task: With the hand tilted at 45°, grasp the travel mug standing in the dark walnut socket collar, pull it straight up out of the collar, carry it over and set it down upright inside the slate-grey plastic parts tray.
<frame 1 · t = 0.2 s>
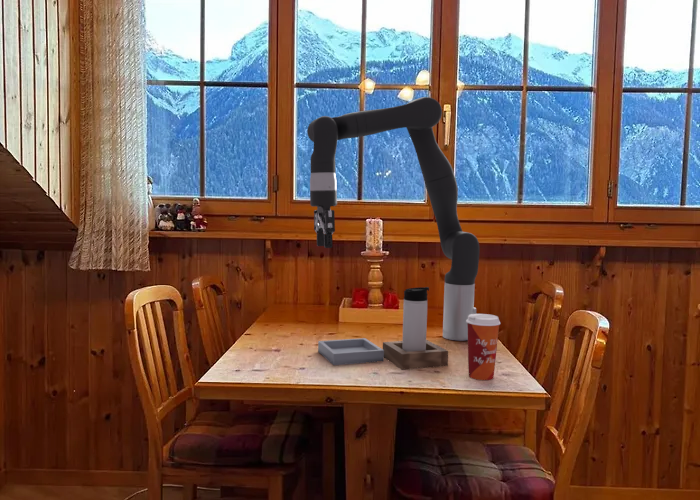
hand: (324, 246, 169), 29 cm above the table, tool pointing down, fingers open, 8 cm apart
parts tray: (350, 356, 163), on the table
socket collar: (414, 361, 159), on the table
coffee cup: (481, 377, 147), on the table
travel mug: (414, 361, 159), resting in socket collar
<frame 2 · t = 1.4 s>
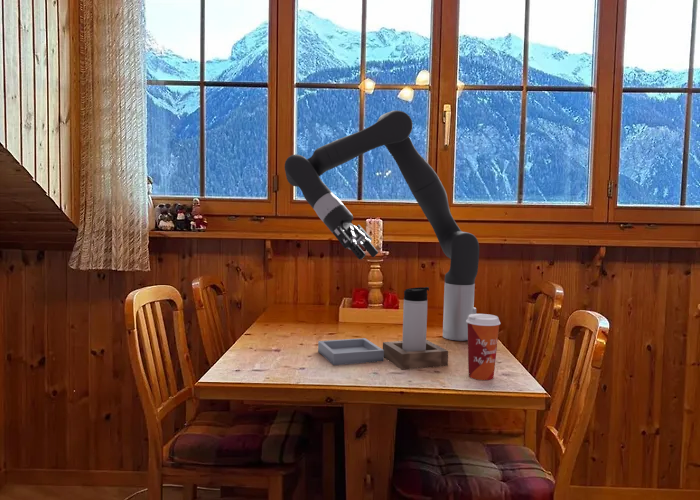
hand: (369, 256, 163), 27 cm above the table, tool tilted 45°, fingers open, 8 cm apart
nothing on the table moved.
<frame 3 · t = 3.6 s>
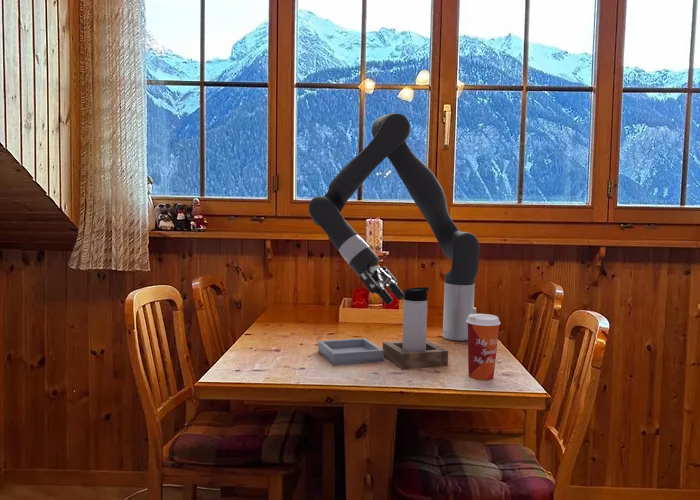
hand: (396, 300, 160), 16 cm above the table, tool tilted 45°, fingers open, 8 cm apart
nothing on the table moved.
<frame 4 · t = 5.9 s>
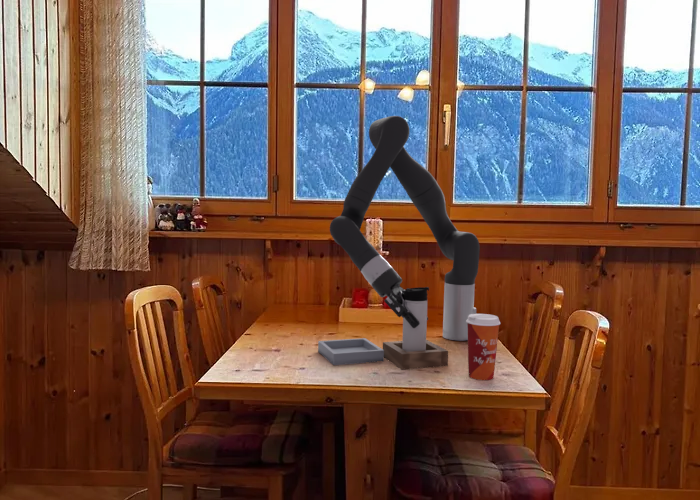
hand: (421, 323, 157), 10 cm above the table, tool tilted 45°, fingers closed on travel mug, 6 cm apart
travel mug: (414, 361, 159), resting in socket collar, touching gripper
everything else where it was.
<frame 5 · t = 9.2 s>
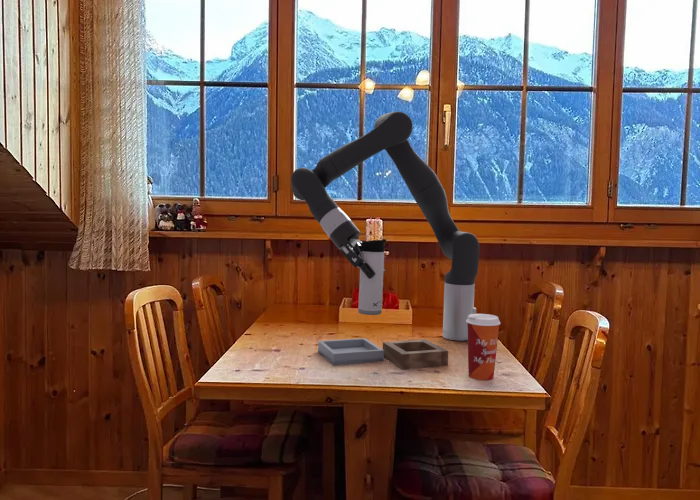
hand: (377, 275, 158), 23 cm above the table, tool tilted 45°, fingers closed on travel mug, 6 cm apart
travel mug: (370, 313, 160), point 12 cm above the table, touching gripper
everything else where it was.
when the fingers open (13 cm above the table, at t = 12.5 s): travel mug drops 1 cm, resting on parts tray.
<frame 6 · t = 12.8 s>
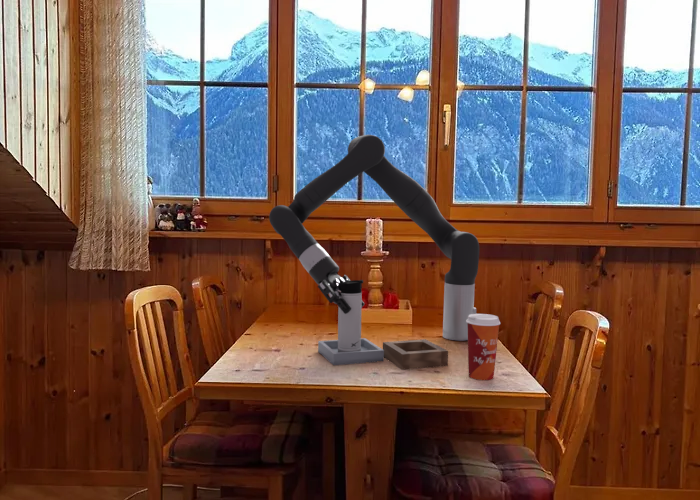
hand: (355, 309, 161), 13 cm above the table, tool tilted 45°, fingers open, 8 cm apart
travel mug: (349, 353, 163), point 1 cm above the table, touching parts tray
everything else where it was.
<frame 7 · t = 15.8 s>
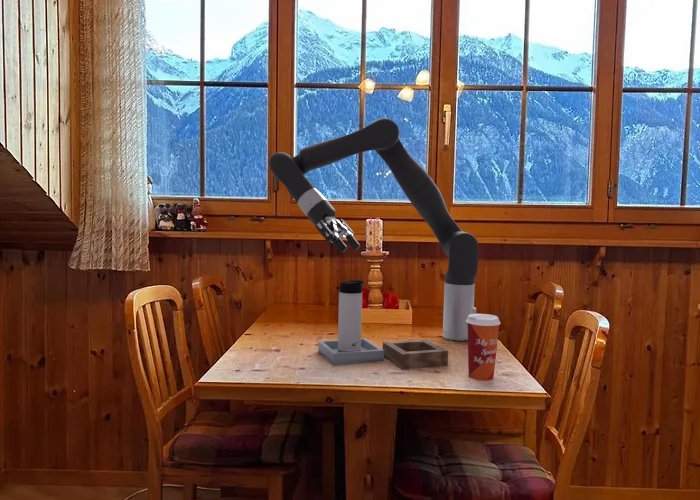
hand: (351, 249, 169), 29 cm above the table, tool tilted 45°, fingers open, 8 cm apart
nothing on the table moved.
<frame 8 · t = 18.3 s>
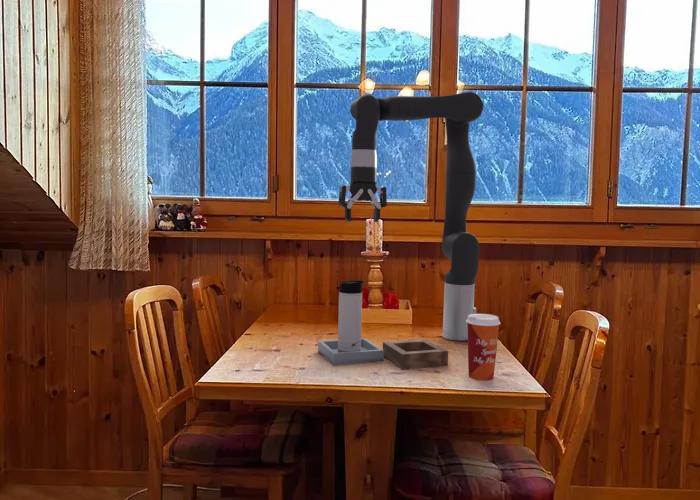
hand: (362, 221, 175), 36 cm above the table, tool pointing down, fingers open, 8 cm apart
nothing on the table moved.
at the end: travel mug inside the target area on the parts tray (0.3 cm from its centre), point 0.8 cm above the parts tray's base; travel mug tilted 0°; the gripper is holding nothing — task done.
